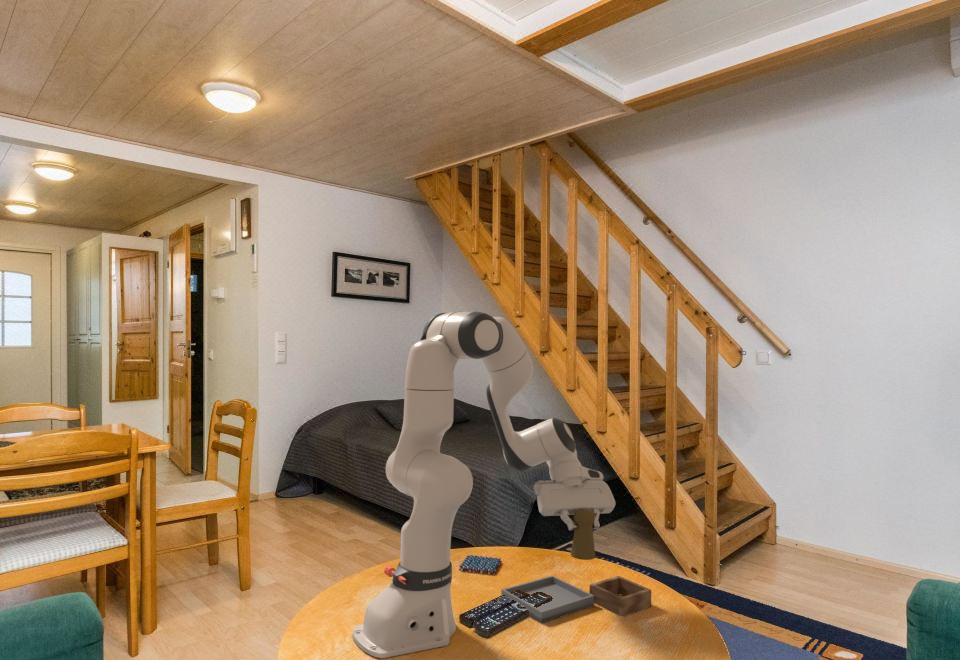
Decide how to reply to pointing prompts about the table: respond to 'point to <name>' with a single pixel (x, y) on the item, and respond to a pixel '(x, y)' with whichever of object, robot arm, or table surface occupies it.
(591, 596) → the tray
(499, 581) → the table surface
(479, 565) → the woven mat
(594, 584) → the holder
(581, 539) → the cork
